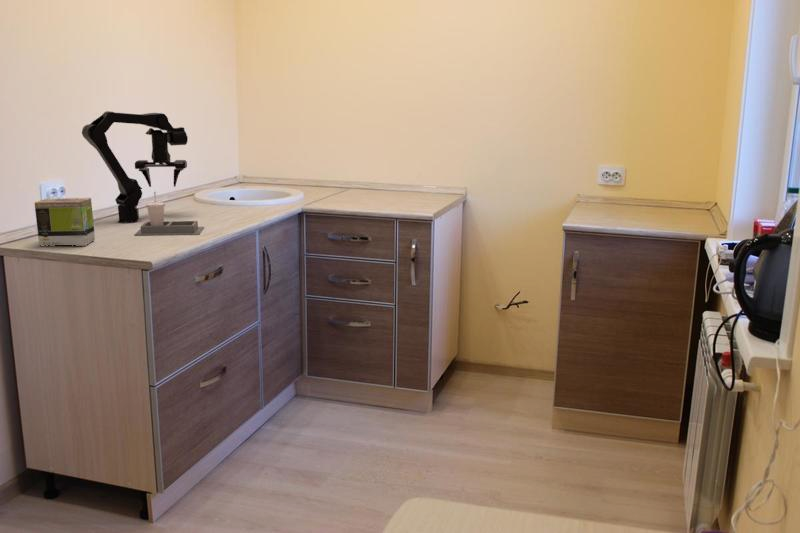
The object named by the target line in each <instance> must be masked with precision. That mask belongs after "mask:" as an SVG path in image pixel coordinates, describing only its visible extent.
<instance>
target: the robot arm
mask: <svg viewBox="0 0 800 533" xmlns="http://www.w3.org/2000/svg"><path fill="white" fill-rule="evenodd" d="M114 123H118V124H119V123H120V124H134V125H143V126H145V127H149V129H147V131H146V132H145V135H149V136H151V149H152V151H151V160H152V161H149V160H147V159H142V160H141V159H139V160H136V161H135V162H134V169H136V170H138V172H141V173H142V174H143V176H144V178H145V180H146V181H147V182H146V183H147V184H148V187H149V188H151V187H152V181H151V175H150V168H156V167H157V168H158V167H159V168H163V167H164V168H167V167H168V168H169V167H170V168H171V167H174V169H173V187H174V188H175V187H176V186H177V183H178V182H177V181H178V177H179V175H180V173H181V172H182V171H183V170H184V169H187V167H188V161H186V160H185V159H176V160H174V161H171V154H170V153H169V148H168V147H169V146H168V144H169V145H170V146H186V145H187V144H188V140H189V139H188V138H189V137H188V134H187V132H186V131H185V127H182V126H181V127H173V126H172V124H171V123H170V122H169V118H168V116H167V115H166V114H165V113H163V112H160V113H159V112H149V113H142V114H138V113H125V112H114V111H110V110H109V111H107V110H106V111H104V112H103V113H102V115H100V116H99V117H98V118H96V119H95V120H94V119H93V121H92V122H90V124H88V123H87V124H86V125H84V126H83V127H82V131H81V134H82V137H83V138H84V139H85V140H86V141H87V142H88V144H89V145H91V146H92V147H93V148H94V149H95V150H96V151H97V153H98V154H99V156H100V157H101V159H102V160H103V162H104V164H105V165H106V166H107V168H108V169H109V172H110V173H111V174H112V176H113V178H114V179H115V180H116V183H117V187H118V191H119V194H118V196H116V198H115V199H114V201H115V202H116V204H117V210H118V221H117V223H136V222H137V221H139V220H140V213H139V212H140V211H139V208H138V205H139V202H140V200H141V198H143V197H142V196H143V191H142V189H143V188H142V187H141V186H140V184H139V182H138V180H137V179H134V178H131V177H129V176H128V174H127V173H126V170H124V168H123V167H122V165H121V163H120V162H119V160H118V159H117V157H116V156H115V154H114V152H113V151H112V149H111V147H110V146H109V144H108V139H107V138H108V137H107V136H106V133H107V132H108V130H109V129H110V128H111V126H112V125H113V124H114ZM165 131H166V132H165Z"/></svg>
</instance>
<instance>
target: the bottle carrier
mask: <svg viewBox="0 0 800 533" xmlns="http://www.w3.org/2000/svg"><path fill="white" fill-rule="evenodd" d="M204 229H205V226H199V222H198V220H172V221H171V220H168V221H164V220H163V226H151V223H150V221H145V222H144V223H143V224H141V226H140V228H139V230H138V231H137V232H136V233H134V236H135V237H140V236H146V237H148V236H200V235H201V233H202V231H203V230H204Z"/></svg>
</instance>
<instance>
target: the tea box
mask: <svg viewBox="0 0 800 533" xmlns="http://www.w3.org/2000/svg"><path fill="white" fill-rule="evenodd" d="M92 204H93V203H92V198H91V197H61V198H60V197H58V198H57V197H56V198H50V197H48V198H44V199H41V200H39V201H36V202H34V210H35V212H34V213H35V220H36V227H37V236H38V245H42V246H41V247H56V246H55V245H72V246H71V247H74V246H73V245H76V246H75V247H86V246H88V245H90V244H91V243H90V242H92V241H93V242H95V241H94V240H96V238H95V237H96V236H95V225H94V216H93V215H94V214H93V205H92ZM93 242H92V243H93ZM89 243H90V244H89ZM87 244H88V245H87ZM44 245H46V246H44ZM48 245H50V246H48Z"/></svg>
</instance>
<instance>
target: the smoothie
mask: <svg viewBox="0 0 800 533" xmlns="http://www.w3.org/2000/svg"><path fill="white" fill-rule="evenodd" d="M153 196H154V197H153V199H154V202H148V203H146V204H145V205H146V206H145V207H146V208H147V213H148V219H149V222H150V223H151V226H163V221H164V216H165V207H166V203H165V202H162V201H161V202H157V194H156V191H153Z"/></svg>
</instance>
